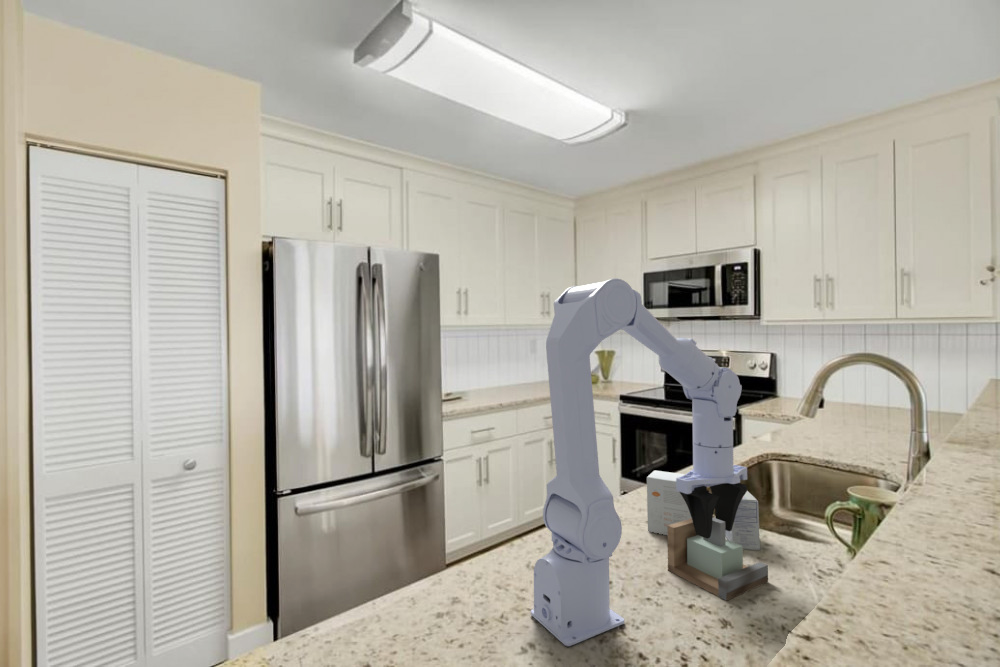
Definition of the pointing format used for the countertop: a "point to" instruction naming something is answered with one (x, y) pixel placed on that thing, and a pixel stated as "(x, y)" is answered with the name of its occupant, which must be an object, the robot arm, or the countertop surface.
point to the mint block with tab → (715, 552)
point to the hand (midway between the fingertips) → (713, 532)
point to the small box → (664, 502)
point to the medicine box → (746, 524)
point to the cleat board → (720, 587)
